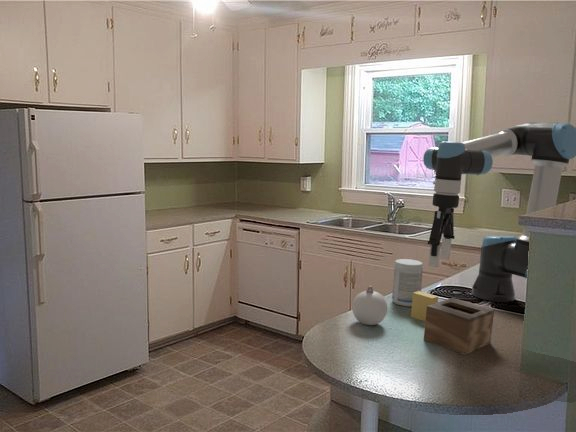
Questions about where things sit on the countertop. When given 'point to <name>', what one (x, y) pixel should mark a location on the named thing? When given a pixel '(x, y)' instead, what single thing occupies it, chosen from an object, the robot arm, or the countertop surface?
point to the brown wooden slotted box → (458, 325)
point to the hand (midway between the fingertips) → (439, 262)
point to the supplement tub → (406, 281)
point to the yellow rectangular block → (422, 304)
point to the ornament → (369, 307)
